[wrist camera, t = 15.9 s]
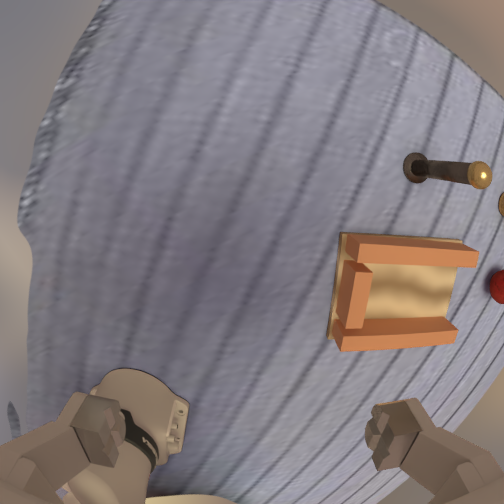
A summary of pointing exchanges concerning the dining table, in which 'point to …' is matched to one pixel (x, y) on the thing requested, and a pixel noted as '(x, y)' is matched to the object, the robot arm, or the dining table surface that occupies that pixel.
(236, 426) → the dining table surface
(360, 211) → the dining table surface
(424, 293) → the tray
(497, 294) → the onion
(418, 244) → the c link
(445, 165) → the post stand
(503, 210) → the sprinkles bottle
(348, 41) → the dining table surface
